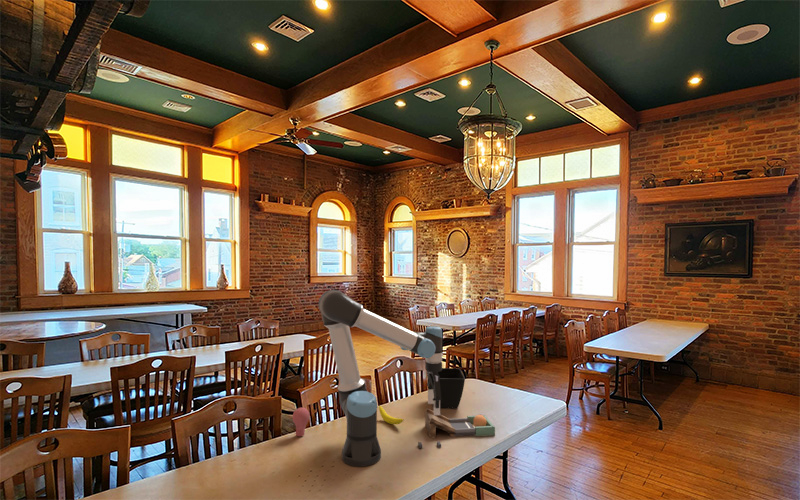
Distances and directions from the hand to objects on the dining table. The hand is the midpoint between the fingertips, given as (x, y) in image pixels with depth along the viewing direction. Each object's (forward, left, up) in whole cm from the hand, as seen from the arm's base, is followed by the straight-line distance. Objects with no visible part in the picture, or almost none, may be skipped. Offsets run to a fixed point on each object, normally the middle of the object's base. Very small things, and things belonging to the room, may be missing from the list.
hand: (433, 409), depth 174 cm
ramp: (+3, 0, -10) cm, 10 cm away
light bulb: (-58, +1, -10) cm, 59 cm away
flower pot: (+12, +32, -10) cm, 36 cm away
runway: (+13, 0, -10) cm, 16 cm away
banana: (-18, +10, -10) cm, 23 cm away
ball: (+21, 0, -7) cm, 22 cm away
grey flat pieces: (-4, -14, -10) cm, 18 cm away
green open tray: (+22, 0, -10) cm, 24 cm away
